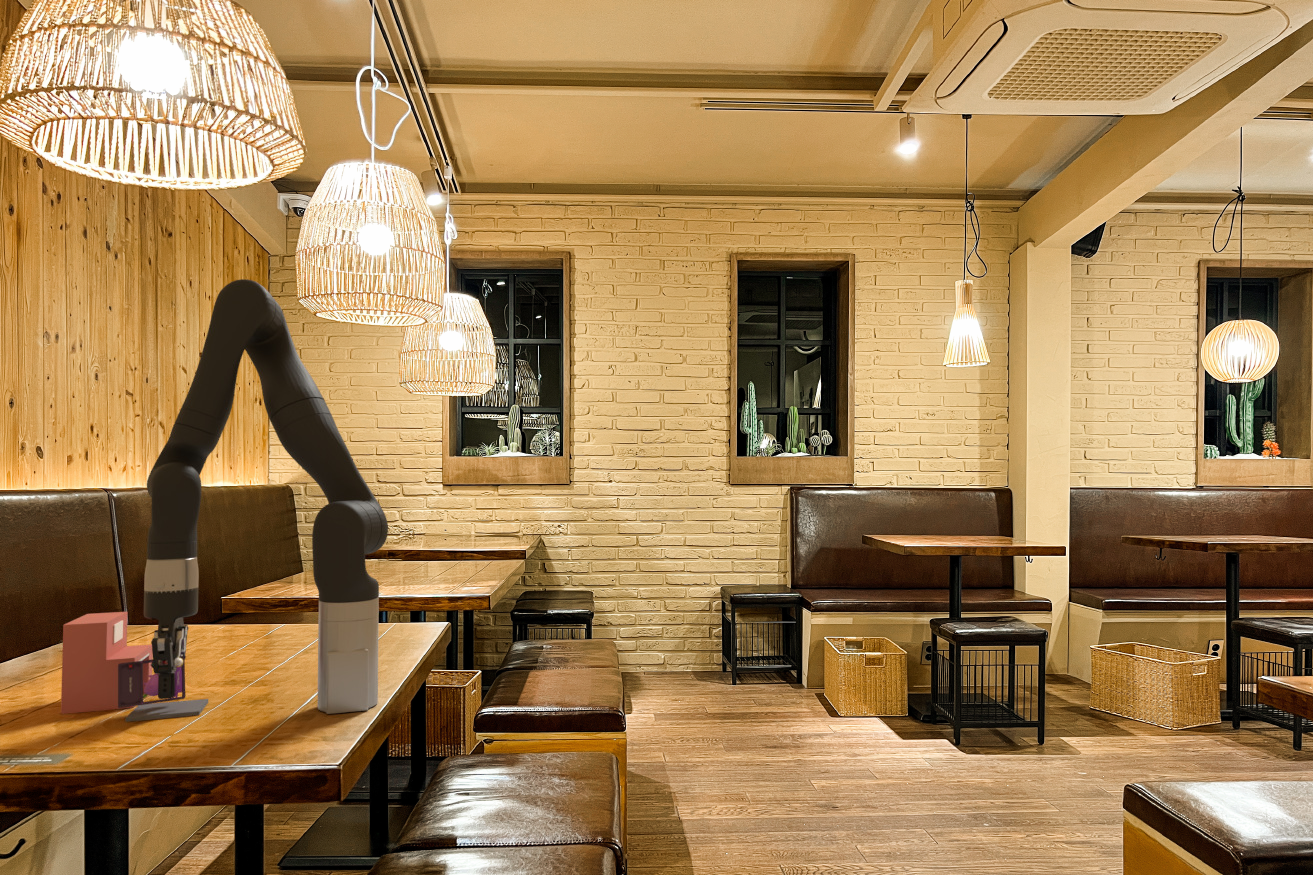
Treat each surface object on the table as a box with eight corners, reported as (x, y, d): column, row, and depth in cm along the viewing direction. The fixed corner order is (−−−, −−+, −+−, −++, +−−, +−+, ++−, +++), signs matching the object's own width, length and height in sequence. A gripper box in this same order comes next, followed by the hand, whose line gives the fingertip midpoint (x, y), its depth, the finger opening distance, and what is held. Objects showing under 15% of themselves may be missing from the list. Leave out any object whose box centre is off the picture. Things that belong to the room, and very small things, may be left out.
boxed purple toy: (118, 662, 127) (185, 654, 132) (116, 668, 131) (181, 660, 136) (118, 707, 125) (186, 697, 130) (116, 711, 129) (182, 701, 134)
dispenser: (133, 707, 133) (135, 620, 134) (60, 713, 130) (63, 624, 131) (151, 690, 145) (153, 610, 145) (85, 695, 141) (87, 613, 142)
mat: (198, 714, 129) (199, 711, 129) (125, 721, 125) (125, 717, 125) (208, 702, 136) (208, 698, 136) (138, 708, 133) (139, 704, 133)
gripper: (188, 590, 126) (186, 703, 126) (206, 580, 140) (204, 682, 139) (132, 593, 124) (130, 708, 123) (156, 582, 137) (153, 686, 136)
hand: (169, 694), depth 131 cm, fingers closed on boxed purple toy, 3 cm apart
